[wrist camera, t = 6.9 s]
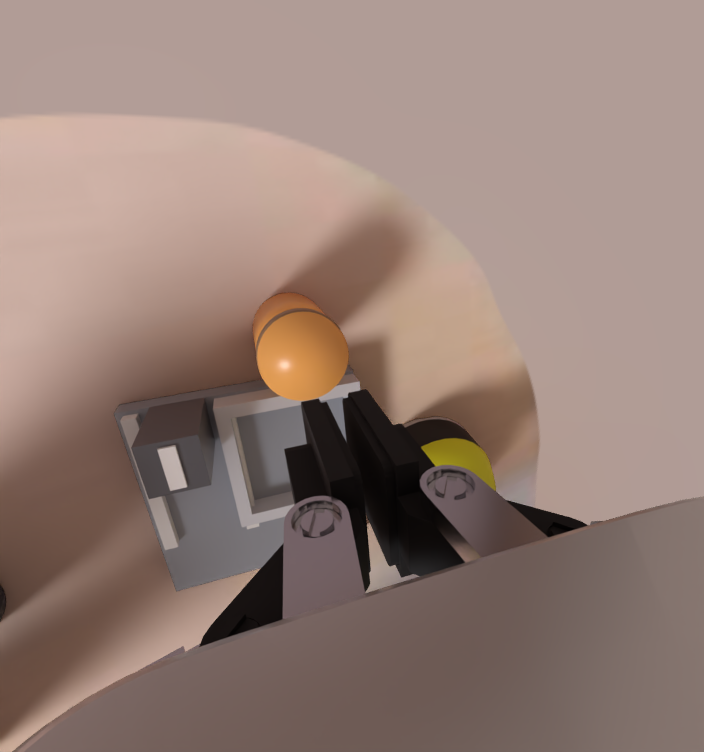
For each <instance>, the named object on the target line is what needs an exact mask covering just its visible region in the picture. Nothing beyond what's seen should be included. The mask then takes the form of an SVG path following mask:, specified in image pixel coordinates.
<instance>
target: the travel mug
mask: <svg viewBox="0 0 704 752" xmlns="http://www.w3.org/2000/svg"><path fill="white" fill-rule="evenodd" d="M5 606H6V598H5V594H4V591H3V589H2V587H1V586H0V620H1V618H2V616H3V614H4V611H5Z"/></svg>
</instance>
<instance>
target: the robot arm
mask: <svg viewBox="0 0 704 752" xmlns="http://www.w3.org/2000/svg"><path fill="white" fill-rule="evenodd" d="M342 402H343V413H344V422H345V432H346V440H345V438H344V436H343V434H342V432H341V430H340V428H339V426H338V424H337V422H336V420H335V418H334V416H333V414H332V412H331V409H330V407H329V405H328V403H327V402H322V403H321V402H320V400H319V398H318V399H313V400H308V401H303V402H301V409H302V415H303V422H304V429H305V435H306V442H307V444H304V445H299V446H295V447H290V448H286V449H284V451H285V457H286V462H287V468H288V474H289V479H290V484H291V490H292V495H293V500H294V506H293V507H292V508H291V509H290V510H289V511H288V513H287V514H286V516H285V520H284V543H283V544H282V545H281V546H280V548H279V549H278V550H277V551H276V552H275V553H274V554H273V555H272V557H271V558H270V559H269V560H268V561H267V562H266V563H265V565H264V566H263V567H262V568H261V569H260V570H259V571H258V573H257V574H256V575H255V576H254V577H253V578H252V579H251V580H250V582H249V583H248V584H247V585H246V586H245V587H244V588H243V590H242V591H241V592H240V593H239V594H238V595H237V596H236V598H235V599H234V600H233V601H232V602H231V603H230V604H229V605H228V607H227V608H226V609H225V610H224V611H223V612H222V613H221V615H220V616H219V617H218V618H217V619H216V620H215V621H214V623H213V624H212V625H211V626H210V628H209V629H208V631H207V632H206V633H205V635H204V636H203V639H202V641H201V644H199V645H197V646H195V647H194V648H192V649H190V650H188V651H186V652H185V649H184V647H181V648H179V649H177V650H175V651H173V652H172V653H170V654H168V655H166V656H164V657H163V658H161V659H159V660H157V661H155V662H153V663H152V664H150V665H148V666H146V667H144V668H143V669H141V670H139V671H137V672H135V673H133V674H130V675H128V676H126V677H124V678H122V679H120V680H118V681H116V682H115V683H113V684H111V685H109V686H107V687H105V688H104V689H102V690H100V691H98V692H96V693H94V694H92V695H91V696H89V697H87V698H85V699H84V700H82V701H81V702H79V703H78V704H76V705H75V706H73V707H72V708H70V709H69V710H67V711H66V712H64V713H63V714H61V715H60V716H58V717H57V718H55V719H54V720H52V721H51V722H49V723H48V724H46V725H45V726H44V727H43V728H41V729H40V730H39V731H37V732H36V733H35V734H33V735H32V736H31V737H30V738H28V739H27V740H26V741H24V742H23V743H22V744H21V745H20V746H19V747H17V748H16V749H15V750H14V751H13V752H704V497H698V498H692V499H685V500H680V501H677V502H673V503H668V504H664V505H661V506H657V507H653V508H649V509H645V510H641V511H637V512H633V513H630V514H627V515H623V516H620V517H616V518H613V519H609V520H606V521H595V522H591V524H590V525H589V526H588V525H586V524H585V523H583V522H581V521H578V520H576V519H573V518H570V517H566V516H563V515H559V514H555V513H551V512H548V511H544V510H540V509H537V508H533V507H529V506H526V505H522V504H518V503H515V502H511V501H507V500H505V499H504V498H502V497H501V496H500V495H499V494H498V493H497V492H496V491H494V490H493V489H492V488H491V487H490V486H489V485H487V484H486V483H485V482H484V481H483V480H482V479H481V478H479V477H478V476H477V475H476V474H475V473H473V472H471V471H470V470H468V469H466V468H463V467H460V466H454V465H440V466H435V465H434V464H433V462H432V461H431V460H430V458H429V457H428V456H427V455H426V453H425V452H424V451H423V450H422V448H421V447H420V446H419V444H418V443H417V442H416V441H415V439H414V438H413V437H412V436H411V434H410V433H409V432H408V431H407V429H406V428H405V427H404V426H403V425H402V424H396V425H392V423H391V422H390V420H389V419H388V418H387V416H386V415H385V414H384V412H383V411H382V410H381V408H380V407H379V406H378V404H377V403H376V402H375V400H374V399H373V398H372V396H371V395H370V393H369V392H368V391H367V390H366V389H365V390H360V391H354V392H349V393H348V398H343V400H342ZM346 442H347V443H346ZM366 515H367V517H368V519H369V522H370V524H371V526H372V529H373V531H374V533H375V536H376V538H377V540H378V542H379V545H380V547H381V549H382V552H383V554H384V556H385V559H386V561H387V563H388V565H389V566H392V565H396V567H397V569H398V571H399V573H400V576H401V578H402V577H405V576H408V575H411V574H416V575H418V576H420V577H417V578H414V579H411V580H407V581H404V582H401V583H398V584H394V585H391V586H388V587H385V588H382V589H378V590H375V591H372V592H369V593H366V594H365V592H366V590H367V589H368V587H369V585H370V577H369V572H370V571H371V568H370V557H369V545H368V534H367V523H366Z"/></svg>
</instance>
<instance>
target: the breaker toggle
mask: <svg viewBox="0 0 704 752" xmlns="http://www.w3.org/2000/svg"><path fill="white" fill-rule="evenodd" d="M131 449H132V452H133V455H134V458H135V461H136V464H137V467H138V470H139V472H140V475H141V478H142V481H143V484H144V487H145V490H146V493H147V495H148V498H149V499H152V498H157V497H161V496H166V495H170V494H174V493H179V492H183V491H188V490H192V489H197V488H201V487H205V486H210V485H211V484H212V473H213V461H214V450H215V439H214V435H213V431H212V427H211V423H210V419H209V415H208V411H207V407H206V403H205V399H204V398H199V399H193V400H188V401H182V402H177V403H171V404H165V405H160V406H154V407H149V409H148V412H147V414H146V416H145V418H144V420H143V423H142V425H141V427H140V429H139V431H138V434H137V436H136V438H135V440H134V442H133V445H132V447H131Z"/></svg>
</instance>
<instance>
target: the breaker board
mask: <svg viewBox="0 0 704 752" xmlns="http://www.w3.org/2000/svg"><path fill="white" fill-rule="evenodd" d="M354 391H360V381H359V380H358V379H357V377H356V376H355V375H354V374H353V370H352V369H351V367H350V366H349V365H347V369H346V371H345V374H344V376H343V377H342V379H341V380H340V382H339V383H338V384H337V385H336V386H335V387H334V388H333V389H332V390H331V391H330V392H328V393H327V394H325V395H323V396H321V397H318V398H319V400H320V402H321V403H322V402H327V403H328V405H329V407H330V409H331V412H332V414H333V416H334V418H335V420H336V422H337V424H338V426H339V428H340V430H341V432H342V434H343V436H344V438H345V440H346V432H345V422H344V413H343V402H342V400H343V398H348V393H349V392H354ZM199 398H204V399H205V403H206V407H207V411H208V415H209V419H210V423H211V427H212V431H213V435H214V439H215V450H214V461H213V473H212V484H211V485H210V486H205V487H201V488H197V489H192V490H188V491H183V492H179V493H174V494H170V495H166V496H161V497H157V498H152V499H149V498H148V495H147V493H146V490H145V487H144V484H143V481H142V478H141V475H140V472H139V470H138V467H137V464H136V461H135V458H134V455H133V452H132V449H131V447H132V445H133V442H134V440H135V438H136V436H137V434H138V431H139V429H140V427H141V425H142V423H143V420H144V418H145V416H146V414H147V412H148V409H149V407H154V406H160V405H165V404H171V403H177V402H182V401H188V400H193V399H199ZM318 398H316V399H318ZM312 400H313V399H312ZM306 401H308V400H306ZM301 402H303V401H297V400H291V399H287V398H284V397H282V396H280V395H278V394H276V393H275V392H274V391H272V390H271V389H270V388H269V387H268V386H267V384H266V383H265V382H264V380H257V381H251V382H246V383H240V384H234V385H229V386H223V387H217V388H212V389H206V390H200V391H195V392H189V393H183V394H178V395H172V396H166V397H160V398H155V399H149V400H143V401H138V402H132V403H126V404H121V405H119V406H118V408H117V409H116V411H115V412H114V416H115V419H116V422H117V424H118V427H119V430H120V433H121V436H122V439H123V441H124V444H125V447H126V450H127V453H128V456H129V458H130V461H131V464H132V467H133V470H134V473H135V475H136V478H137V481H138V484H139V487H140V490H141V492H142V495H143V498H144V501H145V504H146V507H147V509H148V512H149V515H150V518H151V521H152V524H153V526H154V529H155V532H156V535H157V538H158V541H159V544H160V546H161V549H162V552H163V555H164V558H165V561H166V563H167V566H168V569H169V572H170V575H171V578H172V580H173V583H174V586H175V589H176V591H180V590H183V589H187V588H190V587H194V586H198V585H201V584H205V583H208V582H212V581H216V580H219V579H223V578H227V577H230V576H234V575H237V574H241V573H245V572H248V571H252V570H256V569H259V568H262V567H263V566H264V565H265V563H266V562H267V561H268V560H269V559H270V558H271V557H272V555H273V554H274V553H275V552H276V551H277V550H278V549H279V548H280V546H281V545H282V544H283V543H284V520H285V516H286V514H287V513H288V511H289V510H290V509H291V508H292V507H293V506H294V500H293V495H292V490H291V484H290V479H289V474H288V468H287V462H286V457H285V451H284V449H286V448H290V447H295V446H299V445H304V444H307V442H306V435H305V429H304V422H303V415H302V409H301ZM346 443H347V442H346Z"/></svg>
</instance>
